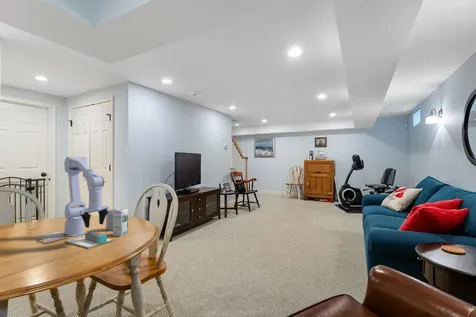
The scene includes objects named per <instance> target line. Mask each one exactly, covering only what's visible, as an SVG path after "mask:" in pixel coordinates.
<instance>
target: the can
mask: <svg viewBox="0 0 476 317" xmlns="http://www.w3.org/2000/svg"><path fill="white" fill-rule="evenodd" d="M113 210H117V208H114V209H109V210H108V213H107V215H106V217H105V229H106V231H108V232H109V231H111V232H113Z"/></svg>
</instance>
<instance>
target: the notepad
mask: <svg viewBox="0 0 476 317" xmlns="http://www.w3.org/2000/svg"><path fill="white" fill-rule="evenodd" d="M114 241H115V239H112V238H108V237H107V242H104V243H101V244H99V243H96V242H92V241H88V240H85V235H84V236H81V237H76V238H72V239H69V240H65V241H64V243H65V244H69V245H73V246H76V247H80V248H84V249H87V250H88V249H92V248H95V247H99V246H102V245H106V244H108V243H112V242H114Z"/></svg>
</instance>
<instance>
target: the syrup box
mask: <svg viewBox="0 0 476 317" xmlns="http://www.w3.org/2000/svg"><path fill="white" fill-rule="evenodd" d="M116 209H117V208H116ZM128 234H129V209H128V208H118V209H117V210H113V231H112V236H114V237H122V236H125V235H128Z"/></svg>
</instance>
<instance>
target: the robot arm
mask: <svg viewBox="0 0 476 317" xmlns="http://www.w3.org/2000/svg"><path fill="white" fill-rule="evenodd" d="M63 163H64V164H63V165H64V170H65V171H64V172H65V173H67V176H68V185H69V186H68V187H69V188H68V189H69V199H70V202H68V203H67V204H66V205H65V206H64V217H65V219H66V220H65V221H64V232H63V233H62V235H64V234H66V235H65V236H69V237H71V238H72V237H76V236H80V235H85V233H87V231H84V228H86V229H88V228H89V229H90V221H91V217H92V213H95V212H98V222H99V225H103V224H104V222H105V220H106V215H107V213H108V210H110V209H109V206H108V205H103V206H102V196H103V193H102V192H103V187H104V185H105V179H104V177H103V176H102V175H98V174H97V173H96V171H95V170H94V169H93V168H90V167H89V165H88V159H87V157H85V156H83V157H82V156H66V157H65V159H64V162H63ZM81 172H82V176H83V178H84V180H85V181H87V182H86V184H87V186H86V187H87V190H88V207H87V204H86V202H84V201H82V200H81V191H80V190H81V188H80V187H81V186H80V176H79V174H80V173H81ZM90 213H91V214H90Z"/></svg>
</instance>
